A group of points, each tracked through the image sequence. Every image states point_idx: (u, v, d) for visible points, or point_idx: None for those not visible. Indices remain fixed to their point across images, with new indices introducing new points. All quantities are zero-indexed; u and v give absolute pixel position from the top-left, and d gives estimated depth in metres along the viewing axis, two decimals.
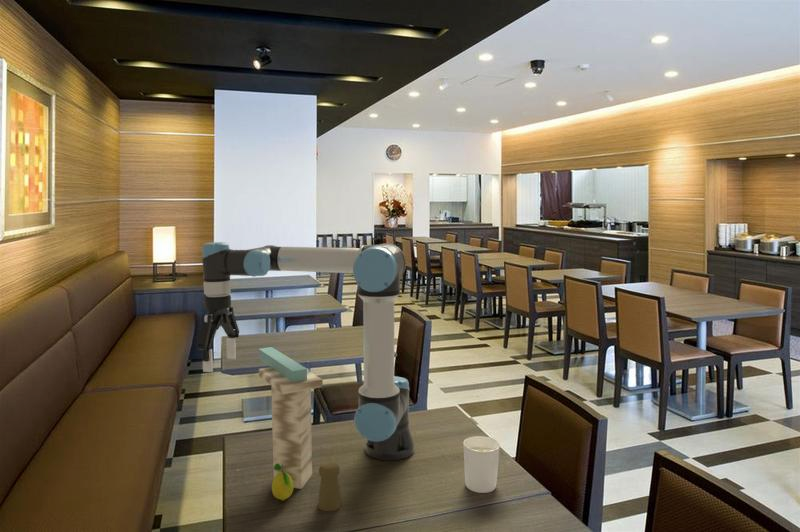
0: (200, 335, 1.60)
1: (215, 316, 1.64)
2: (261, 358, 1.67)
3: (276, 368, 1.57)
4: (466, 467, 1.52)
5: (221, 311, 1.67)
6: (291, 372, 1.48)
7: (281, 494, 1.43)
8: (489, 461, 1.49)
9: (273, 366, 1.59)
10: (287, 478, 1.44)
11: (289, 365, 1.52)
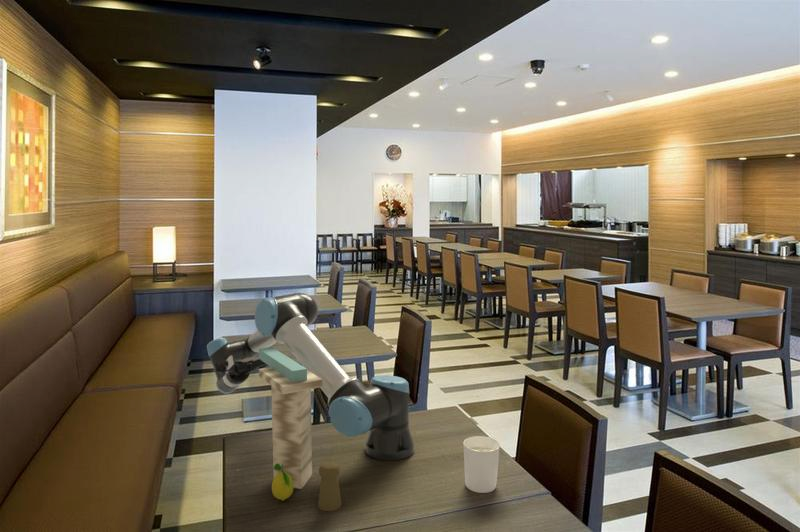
0: None
1: None
2: (261, 358, 1.67)
3: (276, 368, 1.57)
4: (466, 467, 1.52)
5: None
6: (291, 372, 1.48)
7: (281, 494, 1.43)
8: (489, 461, 1.49)
9: (273, 366, 1.59)
10: (287, 478, 1.44)
11: (289, 365, 1.52)
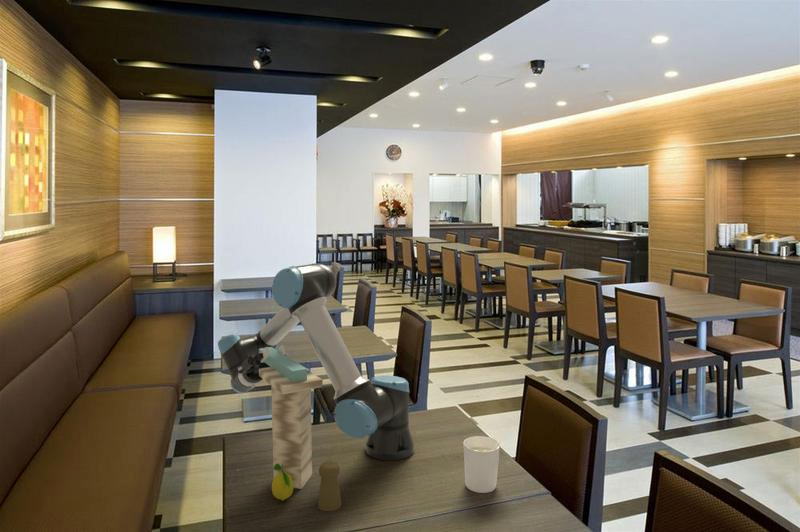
0: (246, 366, 1.67)
1: None
2: None
3: (276, 368, 1.57)
4: (466, 467, 1.52)
5: None
6: (291, 372, 1.48)
7: (281, 494, 1.43)
8: (489, 461, 1.49)
9: (273, 366, 1.59)
10: (287, 478, 1.44)
11: (289, 365, 1.52)
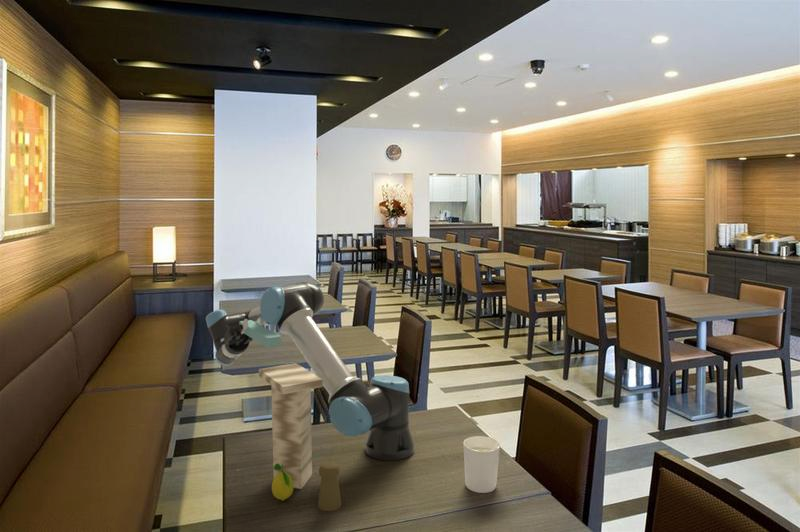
0: (227, 337, 1.82)
1: None
2: None
3: (254, 337, 1.71)
4: (466, 467, 1.52)
5: None
6: (266, 339, 1.62)
7: (281, 494, 1.43)
8: (489, 461, 1.49)
9: (251, 335, 1.73)
10: (287, 478, 1.44)
11: (265, 333, 1.66)
